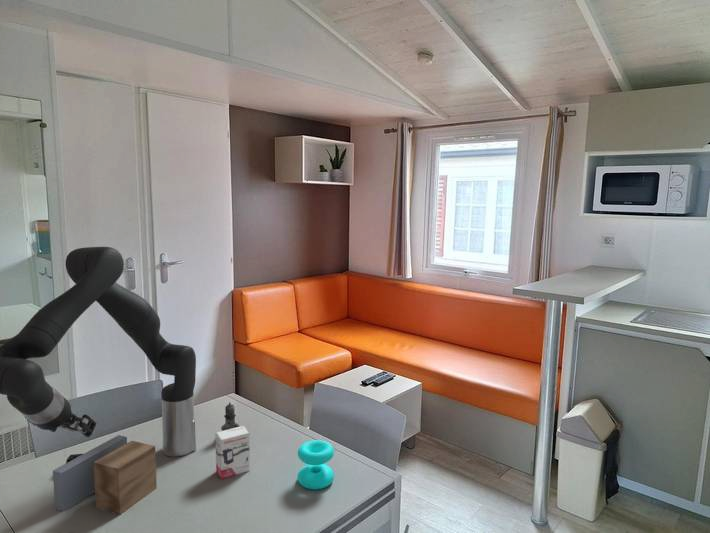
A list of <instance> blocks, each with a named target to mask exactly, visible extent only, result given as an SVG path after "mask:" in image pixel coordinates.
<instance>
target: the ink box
mask: <svg viewBox="0 0 710 533" xmlns="http://www.w3.org/2000/svg"><path fill="white" fill-rule="evenodd" d="M250 437H251V436H250V432H249V430H248V429H247V428H246V427H245V426H244V425H241V426H240V425H239V427H236V428H232V429H228V430H224V431H222V430H221V431H218V432H216V433H215V437H214V438H215V464H216V465H215V467H216V468H215V472H216V473H217V475H218V477H219V478H220V479H221V480H224V479H227V478H229V477H233V476H237V475H239V474H244V473H246V472H249V471H251V465H250V464H251V459H250V458H251V455H250V454H251V453H250V450H251V449H250V439H251V438H250Z"/></svg>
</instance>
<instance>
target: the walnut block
mask: <svg viewBox="0 0 710 533" xmlns="http://www.w3.org/2000/svg"><path fill="white" fill-rule="evenodd" d="M156 455H157V454H156V445H152V444H148V443H143V442H140V441H135V440H130V441H129V442H128V441H127V444H125V445H123V446H121V447H120V448H118V449H116V450H114V451H113V452H111V453H109V454H107V455H106V456H104V457H102V458H100V459H99V460H97V461H95V462H94V481H95V492H94V496H95V508H96V507H97V508H96V509H98V510H102V509H103V511H106V512H109V513H113V514H116V515H119V516H120V515H123V514H124V513H125V512H127V511H128V510H129V509H131V508H132V507H134V506H135V505H136V504H137V503H138V502H140V501H142V500H143V499H144V498H146V497H147V496H148V495H150V494H151V493H153V492H154V491H155V490H156V489H157V488H158V487H157V486H158V485H157V482H158V481H157V461H156V460H157V459H156V458H157V457H156ZM126 510H127V511H126ZM122 513H123V514H122Z"/></svg>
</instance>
